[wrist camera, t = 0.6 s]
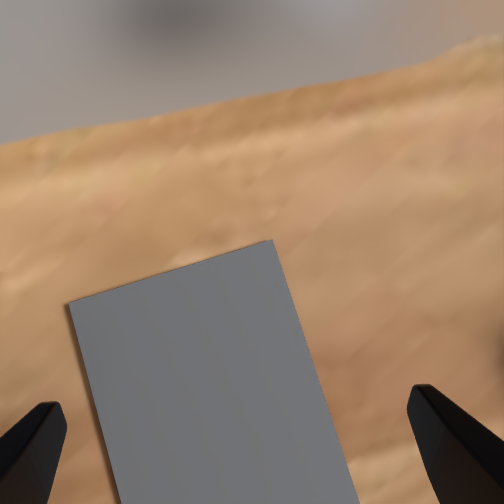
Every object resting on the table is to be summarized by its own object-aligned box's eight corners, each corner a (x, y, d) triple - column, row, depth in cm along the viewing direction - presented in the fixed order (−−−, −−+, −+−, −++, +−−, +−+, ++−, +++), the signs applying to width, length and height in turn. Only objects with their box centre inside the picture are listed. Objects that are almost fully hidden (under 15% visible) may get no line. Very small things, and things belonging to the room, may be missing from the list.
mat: (358, 504, 24) (361, 508, 23) (146, 585, 23) (144, 591, 22) (271, 240, 26) (272, 239, 25) (71, 303, 24) (68, 303, 24)
